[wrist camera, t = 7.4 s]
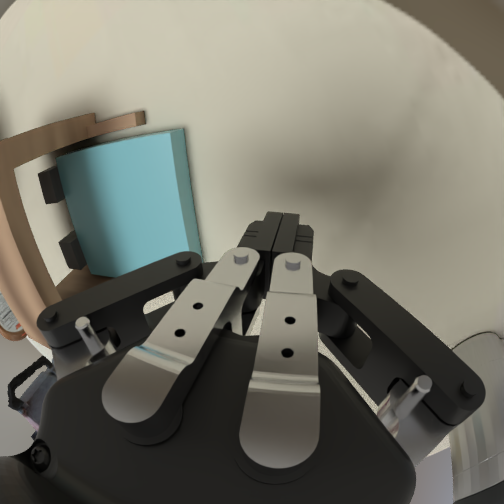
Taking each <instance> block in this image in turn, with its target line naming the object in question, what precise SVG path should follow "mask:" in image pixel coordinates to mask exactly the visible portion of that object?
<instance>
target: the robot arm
mask: <svg viewBox="0 0 504 504" xmlns="http://www.w3.org/2000/svg"><path fill="white" fill-rule="evenodd" d="M299 216H300V215H299V214H291V213H284V215H283V213H279V212H267V214H266V216H265V219H264V221H254V222H253V223H251V224H250V225H249V226H248V228H247V229H246V231H245V233H244V236H243V237H242V239H241V241H240V242H239V244H238V246H237V248H233V249H230V250H228V251H227V252H225V253H224V255H223V256H222V257H221V259H220V260H219V261H217V262H207V263H202V258H201V256H200V255H199V254H198V253H196V252H192V251H183V252H178V253H176V254H173V255H170V256H168V257H165V258H163V259H160V260H158V261H155V262H153V263H150V264H148V265H145V266H143V267H140V268H138V269H136V270H133V271H131V272H128V273H126V274H123V275H121V276H118V277H116V278H114V279H111V280H109V281H106V282H104V283H102V284H99V285H97V286H94V287H92V288H90V289H87V290H85V291H83V292H80V293H78V294H76V295H73V296H71V297H69V298H66V299H64V300H62V301H60V302H57V303H55V304H53V305H50V306H48V307H47V308H45V309H44V310H43V311H42V312H41V313H40V314H39V316H38V318H37V322H36V324H37V327H38V329H39V330H40V332H41V333H42V335H43V337H44V338H45V340H46V341H47V344H48V345H49V347H50V348H51V350H52V355H53V360H54V366H55V371H56V376H57V380H58V381H56V382H55V383H54V384H53V385H52V386H51V387H50V389H49V390H48V392H47V393H46V395H45V398H44V400H43V404H42V411H41V419H40V425H39V429H38V432H37V435H36V438H35V441H34V442H33V444H32V446H31V447H30V448H29V449H27V450H26V451H25V452H22V453H20V454H17V455H14V456H8V457H7V456H3V457H0V504H409V503H410V502H411V499H412V497H413V494H414V490H415V486H416V472H415V467H416V466H417V465H418V464H419V463H420V462H421V461H422V460H423V459H424V458H425V457H426V456H427V455H428V454H429V453H430V452H431V451H432V450H433V449H434V448H435V447H436V446H437V445H438V444H439V443H440V442H441V441H442V440H443V438H444V437H445V436H446V435H447V434H449V440H450V449H451V459H452V473H453V501H455V502H454V503H453V504H504V339H499V337H498V336H497V335H496V334H494V333H483V334H479V335H477V336H474V337H472V338H470V339H468V340H466V341H464V342H463V343H461V344H460V345H458V346H457V347H456V348H454V349H453V350H451V349H450V348H449V347H447V346H446V345H445V344H444V343H443V342H442V341H441V340H440V339H439V338H437V337H436V336H435V335H434V334H433V333H432V332H431V331H430V330H428V329H427V328H426V327H425V326H424V325H423V324H422V323H420V322H419V321H418V320H417V319H416V318H415V317H413V316H412V315H411V314H410V313H409V312H408V311H406V310H405V309H404V308H403V307H402V306H401V305H399V304H398V303H397V302H396V301H395V300H393V299H392V298H391V297H390V296H389V295H387V294H386V293H385V292H384V291H382V290H381V289H380V288H379V287H378V286H376V285H375V284H374V283H373V282H371V281H370V280H369V279H368V278H366V277H365V276H364V275H362V274H361V273H359V272H357V271H353V270H339V271H336V272H334V273H333V274H332V276H327V275H325V274H322V273H320V272H319V271H317V270H316V269H315V268H314V267H313V265H312V249H313V235H314V231H313V229H312V228H311V227H310V226H309V225H300V224H299ZM170 291H173V295H174V299H175V301H174V302H172V303H170V304H168V305H165V306H163V307H161V308H159V309H157V310H154V311H152V312H150V313H148V314H144V313H143V307H144V305H145V304H146V303H147V302H148V301H150V300H152V299H154V298H156V297H159V296H161V295H163V294H165V293H168V292H170ZM262 299H266V302H265V308H264V313H263V319H262V325H261V330H260V335H254V336H250V333H251V331H252V329H253V326H254V324H255V321H256V319H257V317H258V314H259V306H260V304H261V301H262ZM357 324H358V325H359V326H360V327H361V328H362V329H363V330H364V331H365V332H366V333H367V334H368V335H369V336H370V338H371V339H370V338H369V337H368V336H367V335H366V334H365V333H364V332H363V331H362V330H361V329H360V328H359V327H358V326H357ZM318 332H319V337H320V339H321V341H322V342H323V343H324V345H325V346H326V347H327V348H328V349H329V350H330V351H331V353H332V354H333V355H334V356H335V357H336V358H337V360H338V361H339V362H340V363H341V364H342V365H343V366H344V368H345V369H346V370H347V371H348V372H349V373H350V375H351V376H352V377H353V378H354V379H355V380H356V381H357V383H358V384H359V385H360V386H361V387H362V388H363V389H364V391H365V392H366V393H367V394H368V395H369V396H370V397H371V399H372V400H373V401H374V402H375V403H376V404H377V405H378V410H377V415H376V414H375V413H374V412H373V410H372V409H371V408H370V407H369V405H368V404H367V403H366V402H365V400H364V399H363V398H362V397H361V395H360V394H359V393H358V392H357V390H356V389H355V388H354V387H353V385H352V384H351V383H350V381H349V380H348V379H347V378H346V376H345V375H344V374H343V373H342V371H341V370H340V369H339V368H338V367H337V365H336V364H335V363H333V362H332V361H331V360H330V359H329V358H327V357H326V356H324V355H323V354H321V353H319V352H318Z"/></svg>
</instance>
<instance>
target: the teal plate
mask: <svg viewBox="0 0 504 504" xmlns="http://www.w3.org/2000/svg"><path fill="white" fill-rule="evenodd" d="M56 163H57V167H58V172H59V176H60V180H61V184H62V188H63V192H64V196H65V199H66V203H67V206H68V210H69V213H70V216H71V220H72V223H73V226H74V229H75V232H76V235H77V238H78V241H79V243H80V246H81V249H82V252H83V254H84V257H85V260H86V262H87V265H88V267H89V270H90V272H91V274H95V275H101V276H108V277H115V278H116V277H118V276H121V275H123V274H126V273H128V272H131V271H133V270H136V269H138V268H140V267H143V266H145V265H148V264H150V263H153V262H155V261H158V260H160V259H163V258H165V257H168V256H170V255H173V254H176V253H178V252H183V251H192V252H196V253H198V254H199V255H200V256H201V258H202V252H201V247H200V241H199V235H198V229H197V223H196V216H195V210H194V203H193V197H192V190H191V183H190V176H189V168H188V161H187V153H186V144H185V136H184V129H176V130H169V131H162V132H156V133H150V134H144V135H139V136H134V137H129V138H124V139H119V140H115V141H110V142H106V143H102V144H98V145H94V146H90V147H86V148H82V149H79V150H75V151H71V152H69V153H66V154H64V155H62V156H59V157H57V158H56ZM202 263H203V258H202Z"/></svg>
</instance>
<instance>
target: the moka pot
mask: <svg viewBox="0 0 504 504" xmlns="http://www.w3.org/2000/svg"><path fill="white" fill-rule="evenodd" d="M43 365H46V366H47V370H46V371H45V372H41V373H40V375H39V376H38V377H37V378H36V379H35V380H34V382H33V383H32V384H31V385H30V386H29V388H28V389H27V390H26V391H25V392H24V394H23V395H22V396H21V398H20V399H18V398H16V396H15V389H16V388H17V387H18V386H20V385H21V384H22V383H23V382H24V381H25V380H26V379H27V378H28V377H30V376H31V375H32V374H33V373H34V372H35V370H37V369H39V368H41V367H42V366H43ZM56 381H58V380H57V376H56V371H55V366H54V360H53V359H52V363H51V362H50V361H49V360H48V359H47V358H46V357H44V356H41V357H40V358H39V359H38V360H37V361H36V362H34V363H33V364H32V365H31V366H29V367H28V368H27V369H25V370H24V371H23V372H22V373H20V374H18V376H16V377H14V378H13V379H12V381H11V382H10V383H9V384H8V397H9V400H8V402H9V405H8V406H9V407H10V408H12V409H14V410H17V411H18V412H19V413H21V414H22V415H23V416H24V417H25V418H26V419H27V420H28V421H29V423H30V424H31V425H32V426H33V427H34V429H35V430H36V431H35V432H34V434H33V435H32V436H31V437H32V438H33V440H34V441H35V438H36V435H37V432H38V429H39V425H40V419H41V411H42V404H43V400H44V398H45V395H46V393H47V392H48V390H49V389H50V387H51V386H52V385H53V384H54V383H55V382H56Z"/></svg>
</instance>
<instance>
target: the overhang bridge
mask: <svg viewBox="0 0 504 504" xmlns="http://www.w3.org/2000/svg"><path fill="white" fill-rule="evenodd" d="M143 124H146V123H145V115H144V111H141V112H136V113H131V114H127V115H124V116H120V117H116V118H113V119H109V120H106V121H102V122H99V123H96V120H95V113H91V114H86V115H82V116H78V117H74V118H70V119H66V120H62V121H59V122H55V123H52V124H48V125H45V126H42V127H39V128H36V129H33V130H30V131H27V132H24V133H21V134H18V135H16V136H13V137H10V138H6V139H3V140H1V141H0V291H1V293H2V295H3V296H4V298H5V300H6V302H7V304H8V305H9V307H10V309H11V310H12V312H13V314H14V315H15V317H16V318H17V320H18V322H19V323H20V325H21V326H22V328H23V329H24V331H25V332H26V334H27V335H28V337H29V338H31V339H33V340H34V341H36V342H38V343H40V344H42V345H44V346H45V347H47V348H49V349H51V348H50V347H49V345H48V344H47V341H46V340H45V338H44V337H43V335H42V333H41V332H40V330H39V329H38V327H37V324H36V322H37V318H38V316H39V314H40V313H41V312H42V311H43V310H44V309H45V308H47V307H48V306H50V305H53V304H55V303H57V302H60V301H62V300H64V299H66V298H69V297H71V296H73V295H76V294H78V293H80V292H83V291H85V290H87V289H90V288H92V287H94V286H97V285H99V284H102V283H104V282H106V281H109V280H111V279H114V278H115V277H108V276H101V275H95V274H91V272H90V270H89V267H88V265H87V262H86V260H85V257H84V254H83V252H82V249H81V246H80V243H79V241H78V238H77V235H76V232H75V230H74V231H72V232H71V233H70V234H68V235H67V236H66V237H65V238H63V239H62V240H61V241H59V245H60V247H61V250H62V253H63V255H64V258H65V260H66V263H67V265H68V267H69V268H70V269H73V270H72V271H71V272H70V273H69V274H68V275H67V276H66V277H65V278H64V279H63V280H62V281H61V282H60V283H59V284H58V285H57V286H56V287H55V285H54V283H53V281H52V279H51V277H50V275H49V273H48V270H47V268H46V266H45V264H44V261H43V259H42V257H41V254H40V252H39V249H38V247H37V244H36V242H35V239H34V236H33V234H32V231H31V228H30V225H29V222H28V219H27V216H26V213H25V210H24V207H23V204H22V200H21V197H20V193H19V189H18V186H17V182H16V178H15V173H14V168H16V167H18V166H20V165H22V164H24V163H27V162H29V161H31V160H33V159H35V158H38V157H40V156H42V155H45V154H47V153H50V152H52V151H55V150H57V149H60V148H62V147H65V146H68V145H70V144H73V143H76V142H79V141H82V140H85V139H87V138H91V137H94V136H98V135H102V134H105V133H109V132H113V131H117V130H121V129H126V128H130V127H135V126H139V125H143ZM38 177H39V181H40V185H41V189H42V192H43V196H44V200H45V203H46V204H51V203H58V202H59V201H61V200H63V199H64V198H65V196H64V192H63V188H62V184H61V180H60V176H59V172H58V167H57V165H55V166H53V167H51V168H49V169H47V170H45V171H43V172H40V173H38ZM171 292H172V291H171Z"/></svg>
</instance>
